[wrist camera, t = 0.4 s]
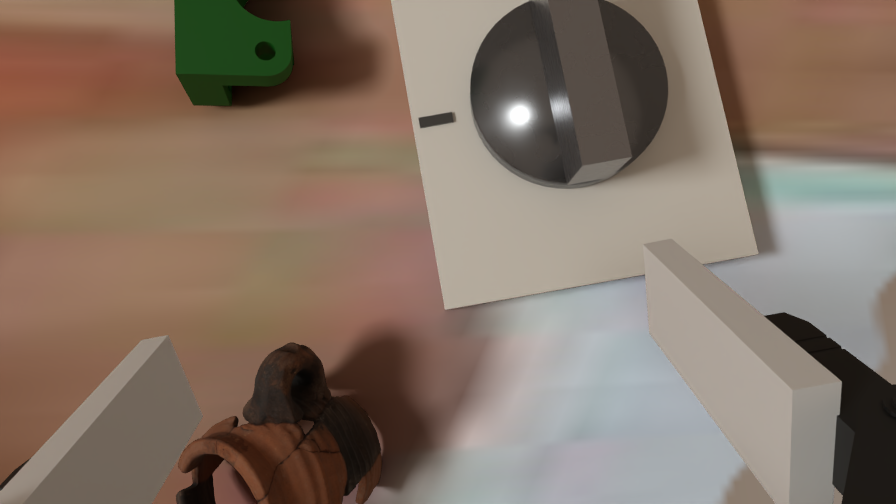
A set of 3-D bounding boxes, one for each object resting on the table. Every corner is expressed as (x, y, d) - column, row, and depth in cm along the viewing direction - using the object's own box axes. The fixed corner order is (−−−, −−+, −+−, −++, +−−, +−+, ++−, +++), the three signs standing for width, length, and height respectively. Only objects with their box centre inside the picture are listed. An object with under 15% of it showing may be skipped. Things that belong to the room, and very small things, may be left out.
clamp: (297, 104, 40) (294, 109, 32) (207, 103, 39) (179, 107, 31) (287, -85, 37) (281, -136, 29) (188, -94, 36) (151, -150, 27)
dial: (677, 170, 32) (724, 138, 27) (488, 204, 32) (494, 180, 27) (636, -8, 34) (672, -74, 28) (454, 25, 34) (453, -35, 28)
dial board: (741, 257, 34) (760, 253, 32) (446, 310, 34) (444, 309, 32) (661, -77, 37) (674, -102, 34) (387, -27, 37) (382, -49, 34)
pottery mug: (393, 534, 33) (292, 632, 26) (275, 487, 38) (161, 560, 31) (395, 335, 32) (287, 383, 24) (271, 311, 36) (149, 345, 29)
